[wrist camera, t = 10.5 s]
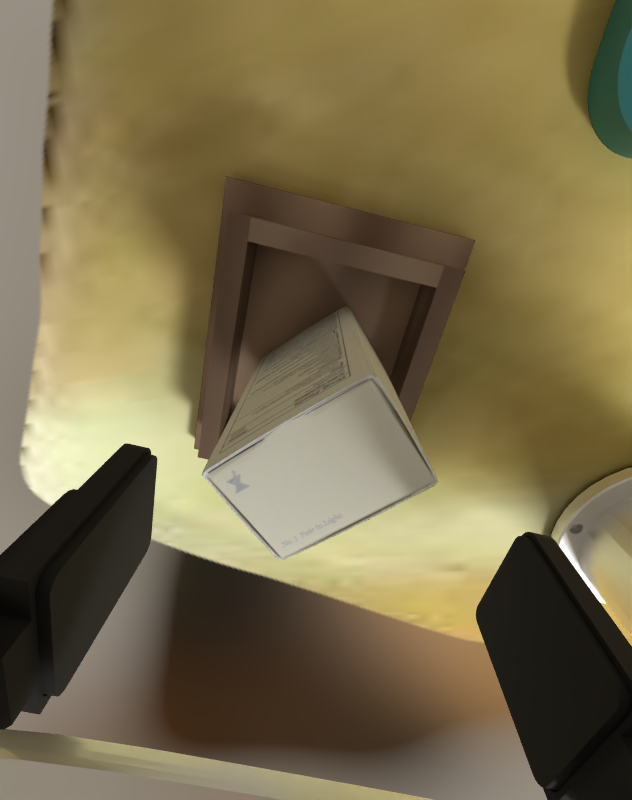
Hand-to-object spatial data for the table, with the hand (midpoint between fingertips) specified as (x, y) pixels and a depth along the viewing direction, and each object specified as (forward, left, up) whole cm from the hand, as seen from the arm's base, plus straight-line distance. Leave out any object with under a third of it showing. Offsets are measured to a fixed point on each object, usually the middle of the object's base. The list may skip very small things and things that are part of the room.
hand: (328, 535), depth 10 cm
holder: (+1, 0, -15) cm, 15 cm away
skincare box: (0, 0, -14) cm, 14 cm away
